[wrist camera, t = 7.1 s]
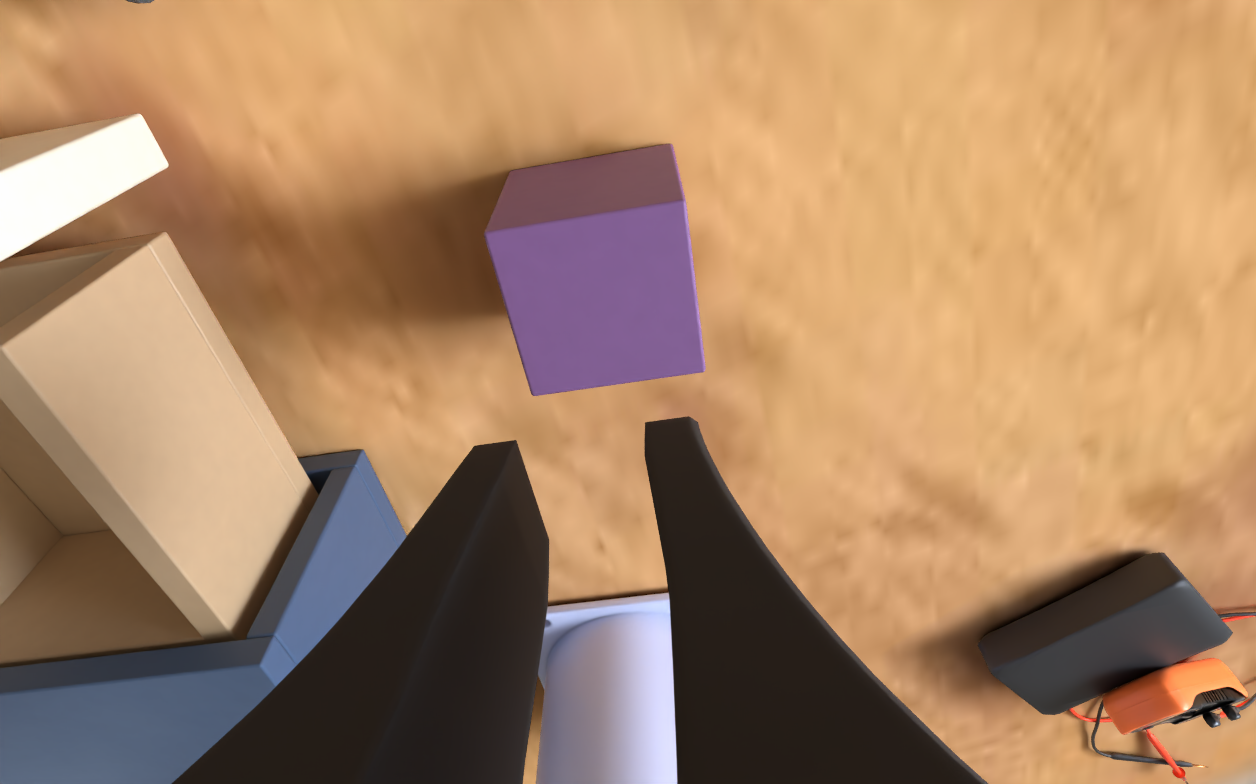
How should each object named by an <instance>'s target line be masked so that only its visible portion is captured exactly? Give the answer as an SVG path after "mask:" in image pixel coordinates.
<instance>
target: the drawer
mask: <svg viewBox="0 0 1256 784" xmlns="http://www.w3.org/2000/svg"><path fill="white" fill-rule="evenodd" d="M168 166H169V165H168V162H167V160H166V158H165V157H164V155H163V153H162V151H161V149H160V147H159V145H158V144H157V142H156V140H155V138H154V136H153V134H152V133H151V131H150V129H149V127H148V125H147V123H146V122H145V120H144V118H143V116H142V115H141V114H131V115H126V116H121V117H115V118H110V119H105V120H99V121H94V122H88V123H83V124H78V125H72V126H67V127H62V128H56V129H51V130H46V131H40V132H35V133H29V134H24V135H19V136H13V137H8V138H3V139H0V668H4V667H12V666H21V665H30V664H38V663H47V662H55V661H64V660H73V659H81V658H90V657H99V656H107V655H116V654H125V653H133V652H142V651H150V650H159V649H168V648H176V647H185V646H194V645H202V644H211V643H220V642H228V641H237V640H245V639H247V638H246V637H247V634H248V632H249V630H250V628H251V626H252V624H253V622H254V620H255V618H256V616H257V615H258V613H259V611H260V609H261V607H262V605H263V603H264V601H265V599H266V597H267V595H268V593H269V591H270V589H271V587H272V585H273V583H274V582H275V580H276V578H277V576H278V574H279V572H280V570H281V568H282V566H283V564H284V562H285V560H286V558H287V556H288V554H289V552H290V550H291V549H292V547H293V545H294V543H295V541H296V539H297V537H298V535H299V533H300V531H301V529H302V527H303V525H304V523H305V521H306V519H307V517H308V516H309V514H310V512H311V510H312V508H313V506H314V504H315V502H316V500H317V498H318V496H319V495H318V493H317V491H316V490H315V488H314V486H313V484H312V483H311V481H310V479H309V478H308V476H307V474H306V472H305V471H304V469H303V467H302V465H301V464H300V462H299V460H298V458H297V457H296V455H295V453H294V452H293V450H292V448H291V446H290V445H289V443H288V441H287V439H286V438H285V436H284V434H283V433H282V431H281V429H280V427H279V426H278V424H277V422H276V420H275V419H274V417H273V415H272V413H271V412H270V410H269V408H268V407H267V405H266V403H265V401H264V400H263V398H262V396H261V394H260V393H259V391H258V389H257V388H256V386H255V384H254V382H253V381H252V379H251V377H250V375H249V374H248V372H247V370H246V368H245V367H244V365H243V363H242V362H241V360H240V358H239V356H238V355H237V353H236V351H235V349H234V348H233V346H232V344H231V343H230V341H229V339H228V337H227V336H226V334H225V332H224V330H223V329H222V327H221V325H220V323H219V322H218V320H217V318H216V317H215V315H214V313H213V311H212V310H211V308H210V306H209V304H208V303H207V301H206V299H205V298H204V296H203V294H202V292H201V291H200V289H199V287H198V285H197V284H196V282H195V280H194V278H193V277H192V275H191V273H190V272H189V270H188V268H187V266H186V265H185V263H184V261H183V259H182V258H181V256H180V254H179V253H178V251H177V249H176V247H175V246H174V244H173V242H172V240H171V239H170V237H169V235H168V234H167V233H166V232H159V233H154V234H148V235H142V236H136V237H130V238H124V239H118V240H112V241H107V242H101V243H95V244H89V245H83V246H77V247H71V248H65V249H60V250H54V251H48V252H42V253H36V254H30V255H24V256H18V257H13V258H8V257H10V256H12V255H14V254H15V253H17V252H19V251H21V250H22V249H24V248H26V247H28V246H30V245H31V244H33V243H35V242H37V241H38V240H40V239H42V238H44V237H45V236H47V235H49V234H51V233H53V232H54V231H56V230H58V229H60V228H61V227H63V226H65V225H67V224H69V223H70V222H72V221H74V220H76V219H77V218H79V217H81V216H83V215H85V214H86V213H88V212H90V211H92V210H93V209H95V208H97V207H99V206H101V205H102V204H104V203H106V202H108V201H109V200H111V199H113V198H115V197H117V196H118V195H120V194H122V193H124V192H125V191H127V190H129V189H131V188H132V187H134V186H136V185H138V184H140V183H141V182H143V181H145V180H147V179H148V178H150V177H152V176H154V175H156V174H157V173H159V172H161V171H163V170H164V169H166V168H167V167H168ZM6 258H7V259H6Z"/></svg>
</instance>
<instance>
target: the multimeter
mask: <svg viewBox="0 0 1256 784" xmlns="http://www.w3.org/2000/svg"><path fill="white" fill-rule="evenodd" d="M1232 616H1234V617H1232ZM1253 616H1256V612H1244V613H1226V614H1219V615H1217V613H1216V612H1215V611H1214V610H1213V609H1212V608H1211V606H1210V605H1209V604H1208V603H1207V602H1206V601H1205V599H1204V598H1203V597H1202V596H1201V595H1200V594H1199V593H1198V591H1197V590H1196V589H1195V588H1194V587H1193V586H1192V585H1191V583H1190V582H1189V581H1188V580H1187V579H1186V578H1185V577H1184V575H1183V574H1182V573H1181V572H1180V571H1179V570H1178V568H1177V567H1176V566H1175V565H1174V564H1173V563H1172V562H1171V560H1170V559H1169V558H1168V557H1167V556H1166V555H1165V554H1164V553H1152V554H1147V555H1144V556H1142V557H1140V558H1138V559H1137V560H1135V561H1133V562H1131V563H1129V564H1127V565H1126V566H1124V567H1122V568H1120V569H1118V570H1116V571H1115V572H1113V573H1111V574H1109V575H1107V576H1105V577H1103V578H1101V579H1099V580H1097V581H1095V582H1093V583H1092V584H1090V585H1088V586H1086V587H1084V588H1082V589H1080V590H1078V591H1076V592H1074V593H1072V594H1070V595H1068V596H1066V597H1064V598H1062V599H1060V600H1058V601H1056V602H1054V603H1052V604H1050V605H1048V606H1046V607H1044V608H1042V609H1040V610H1038V611H1036V612H1034V613H1031V614H1029V615H1027V616H1025V617H1023V618H1021V619H1019V620H1017V621H1015V622H1012V623H1010V624H1008V625H1006V626H1004V627H1001V628H999V629H997V630H995V631H993V632H991V633H989V634H987V635H985V636H984V637H983V638H982V639H981V640H980V642H978V647H979V649H980V651H981V653H982V656H983V658H984V660H985V662H986V664H987V666H988V668H989V670H990V672H991V674H992V675H993V676H994V677H996V678H997V679H998V680H999V681H1001V682H1002V683H1003V684H1005V685H1006V686H1007V687H1008V688H1010V689H1011V690H1012V691H1014V692H1015V693H1016V694H1017V695H1019V696H1020V697H1021V698H1023V699H1024V700H1025V701H1026V702H1028V703H1029V704H1030V705H1031V706H1033V707H1034V708H1035V709H1037V710H1038V711H1039V712H1040V713H1042V714H1046V715H1055V714H1060V713H1062V712H1064V711H1067V710H1069V709H1070V711H1071V712H1072V713H1073V714H1074V715H1075V716H1076V717H1078V718H1080V719H1082V720H1085V721H1089V722H1096V724H1095V727H1094V730H1093V733H1092V736H1091V743H1092V747H1093V749H1094V750H1095V751H1096V752H1097V753H1099V754H1101V755H1103V756H1106V757H1110V758H1112V759H1115V760H1125V761H1135V762H1145V763H1155V764H1165V765H1170V766H1171V767H1172V768H1173V774H1174V775H1175V776H1176V777H1177V778H1180V779H1181V780H1183V781H1185V782H1186V784H1188V782H1187V781H1186V777H1185V771H1184V770H1183V769H1182V768H1180V767H1192V766H1196V767H1207V766H1202V765H1195V764H1191V763H1188V762H1184V761H1173V759H1172V758H1171V757H1170V755H1169V754H1168V752H1167V751H1166V750H1165V748H1164V747H1163V746H1162V745H1161V743H1160V742H1159V741H1158V740H1157V738H1156V737H1155V736H1154V735H1153V734H1151V732H1150V731H1149V729H1151V728H1153V727H1154V726H1155V725H1159V724H1164V723H1172V724H1180V723H1183V722H1187V721H1190V720H1192V719H1195V718H1198V717H1200V716H1203V718H1204V720H1205V721H1206V723H1207V724H1208V725H1209V726H1210V727H1212V728H1214V727H1217V726H1220V725H1221V724H1220V721H1219V719H1220V718H1222V717H1228V719H1230V720H1231V721H1233V720H1236V719H1239V718H1240V717H1241V716H1240V714H1239V712H1240V710H1243V709H1245V708H1247V707H1248V706H1249V705H1250V704H1251V703H1252V702H1253V701H1254V700H1256V693H1255V694H1254V695H1253V696H1252V697H1251V698H1250V699H1248V700H1247V701H1245V702H1243V703H1241V704H1239V705H1237V706H1231V705H1232V704H1235V703H1237V702H1240V701H1243V700H1245V698H1247V697H1248V694H1247V692H1246V691H1245V689H1244V687H1243V686H1242V685H1241V683H1240V682H1239V681H1238V680H1237V678H1236V677H1235V676H1234V674H1233V673H1232V672H1231V671H1230V670H1229V668H1228V667H1227V666H1226V665H1225V664H1224V663H1223V662H1222V661H1221V660H1219V659H1215V658H1209V659H1203V660H1198V661H1192V662H1186V663H1181V664H1175V665H1172V666H1169V665H1171V664H1174V663H1176V662H1178V661H1181V660H1183V659H1186V658H1188V657H1190V656H1193V655H1195V654H1198V653H1201V652H1203V651H1206V650H1208V649H1211V648H1213V647H1216V646H1218V645H1221V644H1223V643H1224V642H1226V641H1227V640H1228V638H1229V637H1230V636H1231V635H1232V633H1233V632H1232V631H1231V630H1230V629H1229V627H1228V626H1227V625H1226V624H1225V623H1224V622H1228V621H1233V620H1238V619H1243V618H1248V617H1253ZM1222 617H1230V618H1225V619H1221V618H1222ZM1166 666H1168V667H1166ZM1164 667H1166V668H1164ZM1161 668H1163V669H1161ZM1159 669H1160V670H1159ZM1156 670H1157V671H1156ZM1154 671H1155V672H1154ZM1149 673H1150V674H1149ZM1147 674H1148V675H1147ZM1145 675H1146V676H1145ZM1142 676H1143V677H1142ZM1140 677H1141V678H1140ZM1138 678H1139V679H1138ZM1135 679H1136V680H1135ZM1133 680H1134V681H1133ZM1131 681H1132V682H1131ZM1128 682H1130V683H1128ZM1126 683H1127V684H1126ZM1124 684H1125V685H1124ZM1121 685H1123V686H1121ZM1119 686H1120V687H1119ZM1117 687H1118V688H1117ZM1115 688H1116V689H1115ZM1112 689H1113V690H1112ZM1104 693H1105V694H1104ZM1102 694H1104V695H1103V700H1102V702H1101V704H1100V707H1099V710H1098V715H1097V719H1089V718H1085V717H1082V716H1080V715H1078V714H1077V713H1076V712H1075V711H1074V710H1073V709H1072V708H1073V707H1075V706H1077V705H1079V704H1082V703H1084V702H1086V701H1088V700H1090V699H1093V698H1095V697H1097V696H1099V695H1102ZM1103 706H1104V708H1105V710H1106V712H1107V714H1108V715H1109V717H1110V718H1111V719H1100V717H1101V713H1102V709H1103ZM1219 709H1222V710H1223V711H1222V712H1221V713H1220V714H1215V713H1212V712H1214V711H1216V710H1219ZM1099 722H1113V723H1114V724H1115V726H1116V727H1117V729H1118V730H1119V732H1120V733H1121V734H1123V735H1125V734H1128V733H1134V732H1138V731H1142V730H1146V731H1147V737H1148V739H1149V740H1150V741H1151V743H1152V744H1153V745H1154V747H1155V748H1156V749H1157V751H1158V752H1159V753H1160V754H1161V756H1162V757H1163V758H1164V759H1158V758H1150V757H1142V756H1134V755H1127V754H1119V753H1111V754H1106V753H1103V752H1100V751H1099V750H1097V748H1096V747H1095V734H1096V732H1097V729H1098V726H1099ZM1177 766H1180V767H1177Z"/></svg>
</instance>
